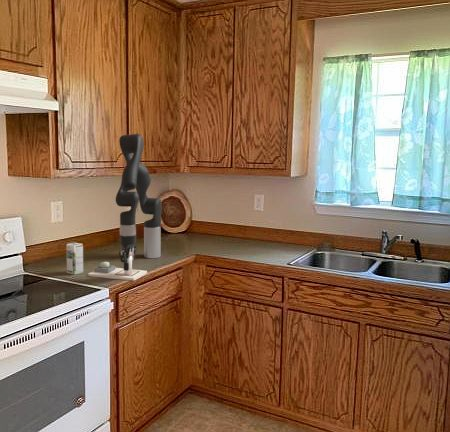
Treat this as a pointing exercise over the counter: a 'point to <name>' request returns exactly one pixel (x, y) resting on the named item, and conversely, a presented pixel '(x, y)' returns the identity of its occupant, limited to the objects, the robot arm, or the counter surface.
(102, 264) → the button
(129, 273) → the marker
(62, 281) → the counter surface
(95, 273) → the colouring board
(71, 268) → the syrup box
